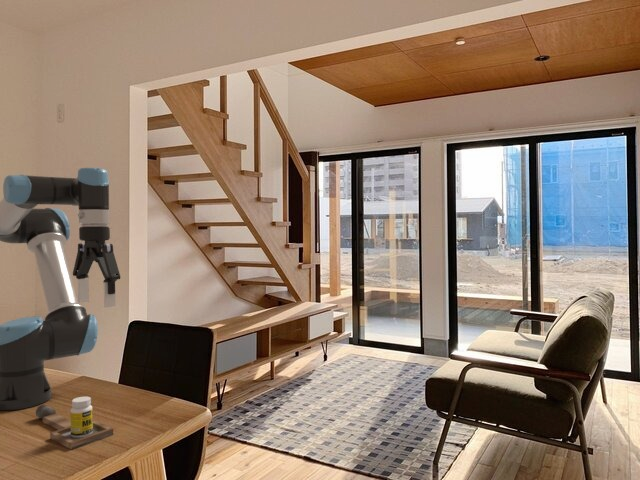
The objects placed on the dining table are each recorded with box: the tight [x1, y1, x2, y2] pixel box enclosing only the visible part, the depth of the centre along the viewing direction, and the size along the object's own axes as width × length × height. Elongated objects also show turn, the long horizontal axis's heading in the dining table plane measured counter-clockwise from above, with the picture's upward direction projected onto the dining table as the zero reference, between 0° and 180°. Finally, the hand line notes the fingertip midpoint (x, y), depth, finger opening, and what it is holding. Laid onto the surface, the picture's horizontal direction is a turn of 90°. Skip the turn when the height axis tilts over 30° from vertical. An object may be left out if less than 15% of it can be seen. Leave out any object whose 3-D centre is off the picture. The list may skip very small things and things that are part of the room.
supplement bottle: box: [70, 396, 94, 438], centre depth 118 cm, size 5×5×8 cm
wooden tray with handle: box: [35, 404, 114, 450], centre depth 123 cm, size 26×10×3 cm, turn 53°
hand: (96, 304), depth 135 cm, fingers open, 13 cm apart
